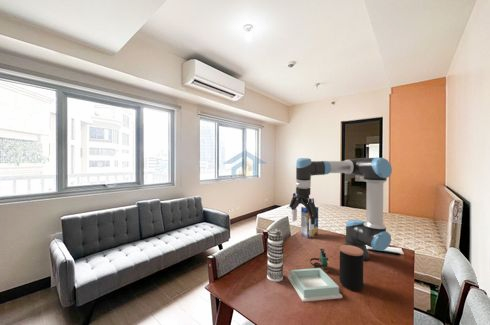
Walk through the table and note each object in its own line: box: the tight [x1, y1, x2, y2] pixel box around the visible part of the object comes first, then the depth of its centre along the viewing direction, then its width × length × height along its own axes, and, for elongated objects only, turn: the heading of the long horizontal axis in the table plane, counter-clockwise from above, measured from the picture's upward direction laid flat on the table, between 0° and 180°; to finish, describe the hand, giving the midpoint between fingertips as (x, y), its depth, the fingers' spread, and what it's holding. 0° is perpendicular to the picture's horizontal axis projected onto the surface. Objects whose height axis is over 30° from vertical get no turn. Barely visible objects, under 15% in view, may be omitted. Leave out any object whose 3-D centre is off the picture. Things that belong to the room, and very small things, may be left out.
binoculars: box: [309, 248, 329, 273], centre depth 119 cm, size 9×11×10 cm
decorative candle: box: [266, 228, 285, 282], centre depth 110 cm, size 9×9×25 cm
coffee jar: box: [338, 244, 365, 292], centre depth 103 cm, size 11×11×18 cm
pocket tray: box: [287, 267, 343, 303], centre depth 101 cm, size 19×19×4 cm
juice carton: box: [300, 206, 319, 239], centre depth 172 cm, size 12×8×24 cm, turn 117°
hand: (302, 224), depth 113 cm, fingers open, 13 cm apart
